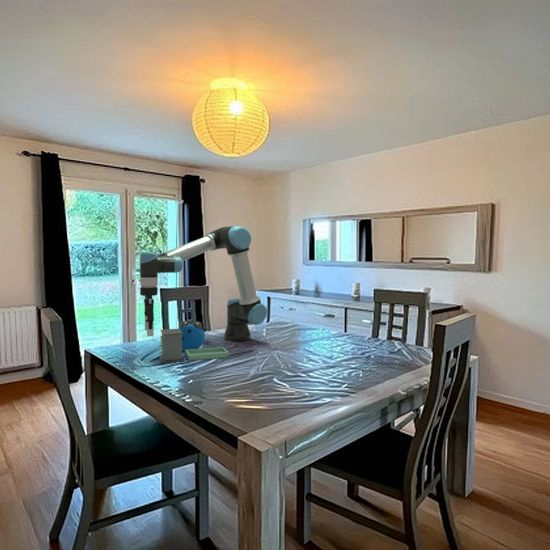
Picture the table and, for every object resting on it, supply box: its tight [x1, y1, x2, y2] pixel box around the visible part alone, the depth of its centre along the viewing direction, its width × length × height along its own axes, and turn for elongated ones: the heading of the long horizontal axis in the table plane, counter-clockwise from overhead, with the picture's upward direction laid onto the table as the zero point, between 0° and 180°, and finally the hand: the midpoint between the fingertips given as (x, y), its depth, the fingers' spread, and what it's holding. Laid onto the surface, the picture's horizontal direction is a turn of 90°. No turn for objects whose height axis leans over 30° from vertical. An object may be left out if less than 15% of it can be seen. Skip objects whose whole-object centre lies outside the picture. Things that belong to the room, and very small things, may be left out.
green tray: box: [184, 346, 230, 362], centre depth 196 cm, size 19×11×2 cm, turn 111°
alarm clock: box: [179, 320, 206, 352], centre depth 205 cm, size 13×6×15 cm, turn 89°
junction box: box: [158, 328, 186, 364], centre depth 190 cm, size 10×12×13 cm
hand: (149, 333), depth 185 cm, fingers open, 13 cm apart
